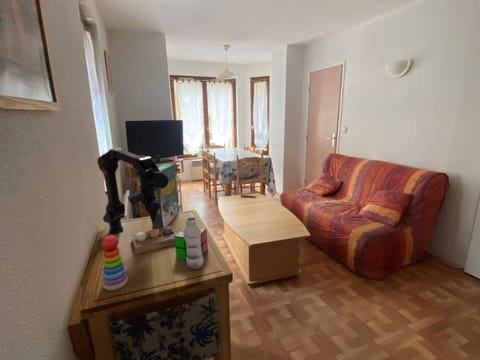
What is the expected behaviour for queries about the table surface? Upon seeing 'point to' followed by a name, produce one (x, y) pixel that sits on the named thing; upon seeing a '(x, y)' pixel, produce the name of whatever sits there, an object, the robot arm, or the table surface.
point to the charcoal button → (167, 230)
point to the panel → (153, 241)
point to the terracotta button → (154, 233)
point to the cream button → (141, 236)
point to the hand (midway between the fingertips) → (151, 218)
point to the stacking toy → (113, 265)
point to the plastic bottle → (193, 244)
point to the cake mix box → (166, 198)
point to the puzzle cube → (181, 244)
